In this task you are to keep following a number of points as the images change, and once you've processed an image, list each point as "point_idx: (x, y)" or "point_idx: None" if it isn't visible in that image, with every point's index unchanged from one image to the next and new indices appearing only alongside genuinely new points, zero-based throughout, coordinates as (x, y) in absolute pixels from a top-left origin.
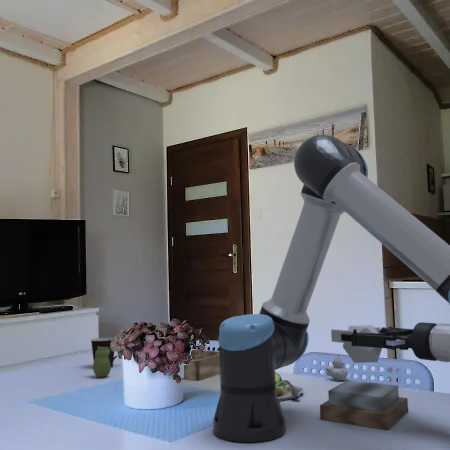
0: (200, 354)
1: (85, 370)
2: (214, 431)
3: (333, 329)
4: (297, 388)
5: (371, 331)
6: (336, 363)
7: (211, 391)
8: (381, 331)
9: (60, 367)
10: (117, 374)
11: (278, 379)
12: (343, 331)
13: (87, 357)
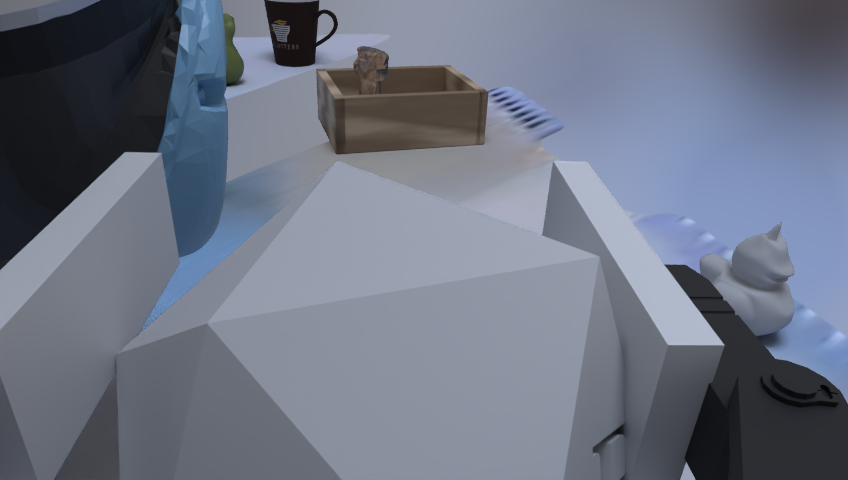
0: (375, 81)
1: (254, 60)
2: None
3: (143, 157)
4: None
5: (301, 431)
6: (743, 262)
7: (263, 205)
8: (715, 419)
9: (245, 45)
10: (265, 84)
11: None
12: (48, 235)
13: (339, 35)
